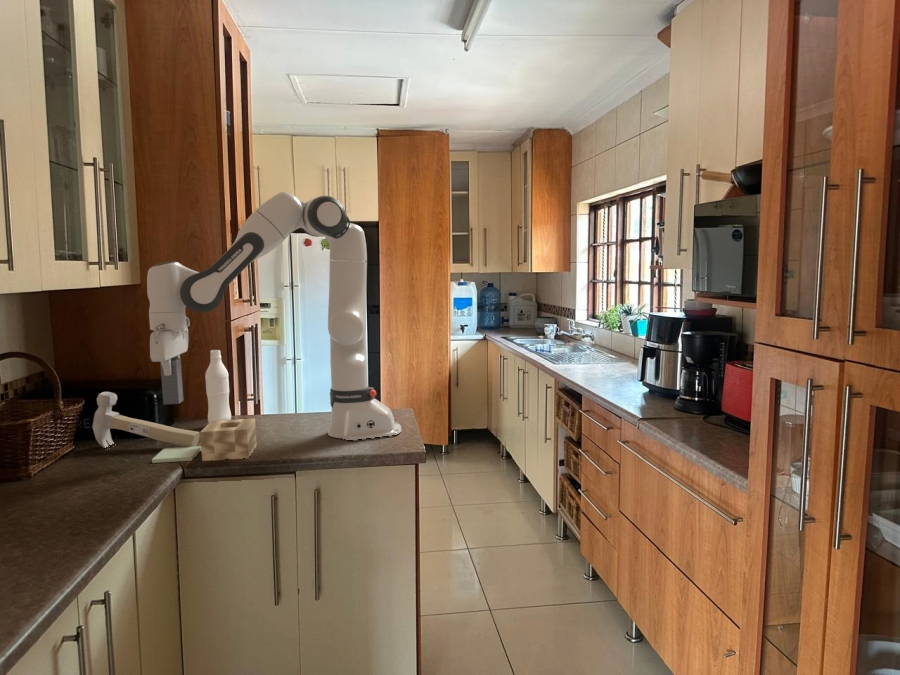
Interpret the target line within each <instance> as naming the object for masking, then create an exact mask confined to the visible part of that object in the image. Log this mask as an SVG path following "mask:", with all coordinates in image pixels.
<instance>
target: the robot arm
mask: <svg viewBox="0 0 900 675" xmlns="http://www.w3.org/2000/svg"><path fill="white" fill-rule="evenodd" d="M296 230H300V231H302V232H303V233H305V234H306V235H309V236H311V237H314V238H315V237H316V238H318V237H319V238H320V237H323V238H324V237H325V239H326V240H327V243H328V246H329V274H328V275H329V284H328V285H329V286H328V306H327V308H328V311H327V313H328V314H327V315H328V316H327V331H328V334H329V339H330V341H329V342H330V345H329V346H330V348H329V349H330V360H329V361H330V382H331V384H330V385H331V386H330V387H331V388H330V389H329V390H330V391H329V401H330V402H329V404H330V407H331V412H330V414H331V415H330V422H329V427H328V432H327V434H328V436H330V437H331V438H336V439H341V438H342V440H344V439H345V440H344V441H347V440H353V441H359V440H358V439H362V440H367V439H366V438H371V439H376V438H375V437H380V438H383V437H382V436H389V437H393V436H392V435H397V434H399V433H400V432H401V433H402V426H401V424H400V423H399V422H397V421H395V418H394V415H393V413H392V411H391V408H389V407H388V406H387V405H385V404H383V402H381V401H379V400H378V399H376V396H377V391H376V390H375V388H374V387H371V386H369V384H368V382H369V381H368V380H369V379H368V378H369V376H368V354H367V351H368V350H367V332H366V331H367V282H368V281H367V277H368V276H367V275H368V274H367V271H368V269H367V268H368V254H367V253H368V252H367V242H366V236H365V232H364V229H363V227H361V226H359V225H358V224H356V223H351V221H350V217H349V216H348V214H347V212H346V210H345V208H344V206H343V205H342V203H341V202H340V201H339V200H338V199H337V198H335V197H333V196H329V195H320V196H318V197H313V198H312V199H310V200H309V201H306V202H305V201H304V202H303V201H302V200H300V199H299V198H298V197H297V196H295V195H294V194H293V193H290V192H287V191H281V192H278V193H276V194H275V195H273V196H272V197H270V198H269V199H268V200H266V201H265V202H263V203H262V204H261V205H260V206H259V207H258V208H256V209H255V210H254V211H253V212H252V213H251V214H250V215H249V216H248V218H246V220H245V221H244V222H243V224H242V225H241V227H240V228H239V230H238V232H237V236H236V238H235V240H234V242H233V243H232V245H231V246H230V247H229V248H228V249H227V250H226V251H225V252H224V254H222V255H221V256H220V257H219V258H218V259H217V260H216V261H215V262H214V263H213V264H212V265H210V267H208V268H207V269H205V270H204V271H200V272H199V271H196V270H193V269H191V268H189V267H186V266H185V265H183V264H182V263H180V262H178V261H175V260H174V261H173V260H172V261H165V262H160V263H157V264H153V265H152V266H151V267H149V269H148V271H147V277H146V288H147V289H146V291H147V298H148V301H149V310H148V318H149V329H150V330H151V331H153V332H151V333H150V335H149V336H150V337H149V357H150V360H151V362H153V363H154V362H156V363H157V362H158V363H159V362H161V365H162V367H163V370H164V375H165V376H167V375H171V374H172V373H173V372H172V368H171V364H170V362H171V358H181V355H182V354H184V353H187V352H188V349H189V329H188V327H190V325H191V324H190V319H189V317H187V316H186V308H187V309H189V311H192V312H195V313H199V314H200V313H201V314H202V313H203V314H205V313H210V312H211V311H214V310H215V309H217V307H219V305H220V304H221V302H222V300H223V297H224V295H225V293H226V292H225V291H226V289H227V288H228V286H229V285H230V284H231V283H232V282H233V281H234V280H235V279H236V278H237V277H238V275H240V274H241V273H242V272H243V271H244V270H245V269H246V268H247V267H248V266H249V265H250V264H251V263H253V262H254V261H256V260H258V259H260V258H261V257H263V256H265V255H267V254H269V253H271V252H272V251H273V250H274V249H276V248H277V247H278V246H280V244H282V243H283V242H284V241H285V240H286V239H287V238H288V237H289V235H291V234H292V233H293V232H295V231H296ZM150 330H149V331H150ZM161 365H160V366H161ZM401 433H400V434H401ZM400 434H399V435H400ZM397 436H398V435H397Z"/></svg>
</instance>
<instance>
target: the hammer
mask: <svg viewBox="0 0 900 675" xmlns="http://www.w3.org/2000/svg"><path fill="white" fill-rule="evenodd" d="M117 401H118V395H117V394H116V393H115V392H111V391H103V392H101V393H98V395H97V397H96V405H97V406H98V407H97V409H96V410H95V412H94V416H93V421H92V430H93V433H94V436H95V440H96V441H97V443H98V444H99V445H100V446H101V447H102V448H103V449H104V448H106V447H108V446H109V445H112V444H114V443H115V442H114V441H113V439H112V434H111V431H110V430H111V429H115V430H120V431H121V430H122V431H125V432H129V433H132V434H136V435H138V436H142V437H146V438H150V439H152V440H156V441H159V442H164V443H169V444H174V445H177V446H179V447H194V446H198V445H199V441H200V439H201V436H200V431H196V430H195V431H194V430H190V429H182V428H179V427H178V428H176V427H174V426H168V425H165V424H161V423H156V422H152V421H148V420H144V419H138V418H133V417H128V416H125V415H122V414H120V412H117V411H113V410H112V409H113V406H115V405H116V404H117Z"/></svg>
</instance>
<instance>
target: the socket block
mask: <svg viewBox="0 0 900 675" xmlns="http://www.w3.org/2000/svg"><path fill="white" fill-rule="evenodd" d="M256 426H257V424H256V418H239V419H231V420H215V421H211V422H210V423H209V422H208V423H207V425H206V426H204V427H203V429H201V431H199V436H200V446H201V451H200V452H201V461H202V462H207V461H211V460H212V461H226V460H225V459H229V460H241V459H243V458H245V459H250V457H249V456H251V455H252V454H253V452H254V451H253V450H255V449H256V448H257V446H256V445H257V428H256ZM254 448H255V449H254ZM251 453H252V454H251Z"/></svg>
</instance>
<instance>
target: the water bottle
mask: <svg viewBox="0 0 900 675" xmlns="http://www.w3.org/2000/svg"><path fill="white" fill-rule="evenodd" d="M209 356H210V357H209V359H210V362H209V365H208V367H207V369H206V371H205V374H204V376H205V377H204V378H205V389H206V391H205V392H206V396H207V404H208V405H207V406H208V410H207V411H208V413H207V422H208V424H209V423H210V422H211V421H215V420H232V413H231V408H230V402H229V401H230V399H229V398H230V381H229V372H228V369H227V368H226V366H225V365H224V363H223V361H222V355H221V350H220V349H212V350H210V355H209Z"/></svg>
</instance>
